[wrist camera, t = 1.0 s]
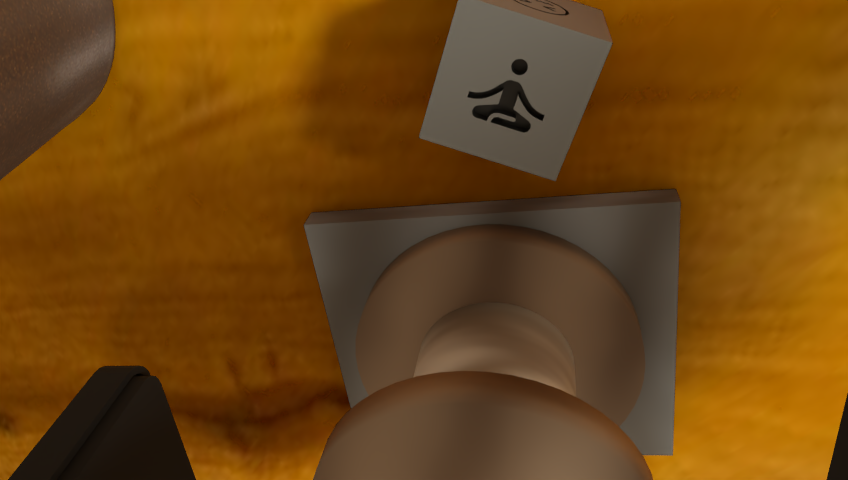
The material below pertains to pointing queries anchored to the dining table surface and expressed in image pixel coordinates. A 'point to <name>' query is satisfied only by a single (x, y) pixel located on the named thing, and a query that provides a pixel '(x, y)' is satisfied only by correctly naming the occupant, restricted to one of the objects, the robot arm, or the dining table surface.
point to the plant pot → (49, 69)
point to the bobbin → (502, 337)
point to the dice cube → (517, 80)
